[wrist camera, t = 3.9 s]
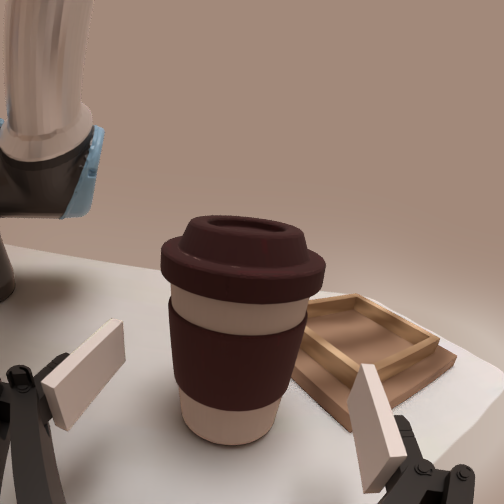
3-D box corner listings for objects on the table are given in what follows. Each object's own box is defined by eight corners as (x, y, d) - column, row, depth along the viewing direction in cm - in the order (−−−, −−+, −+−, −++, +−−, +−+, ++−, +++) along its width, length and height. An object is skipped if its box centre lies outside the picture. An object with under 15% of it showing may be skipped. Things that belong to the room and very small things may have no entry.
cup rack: (238, 324, 38) (241, 298, 37) (350, 306, 48) (355, 285, 47) (350, 432, 21) (364, 402, 20) (452, 365, 31) (463, 342, 30)
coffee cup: (253, 371, 29) (273, 213, 25) (315, 436, 20) (365, 242, 17) (151, 388, 24) (149, 209, 20) (189, 476, 15) (191, 242, 12)
